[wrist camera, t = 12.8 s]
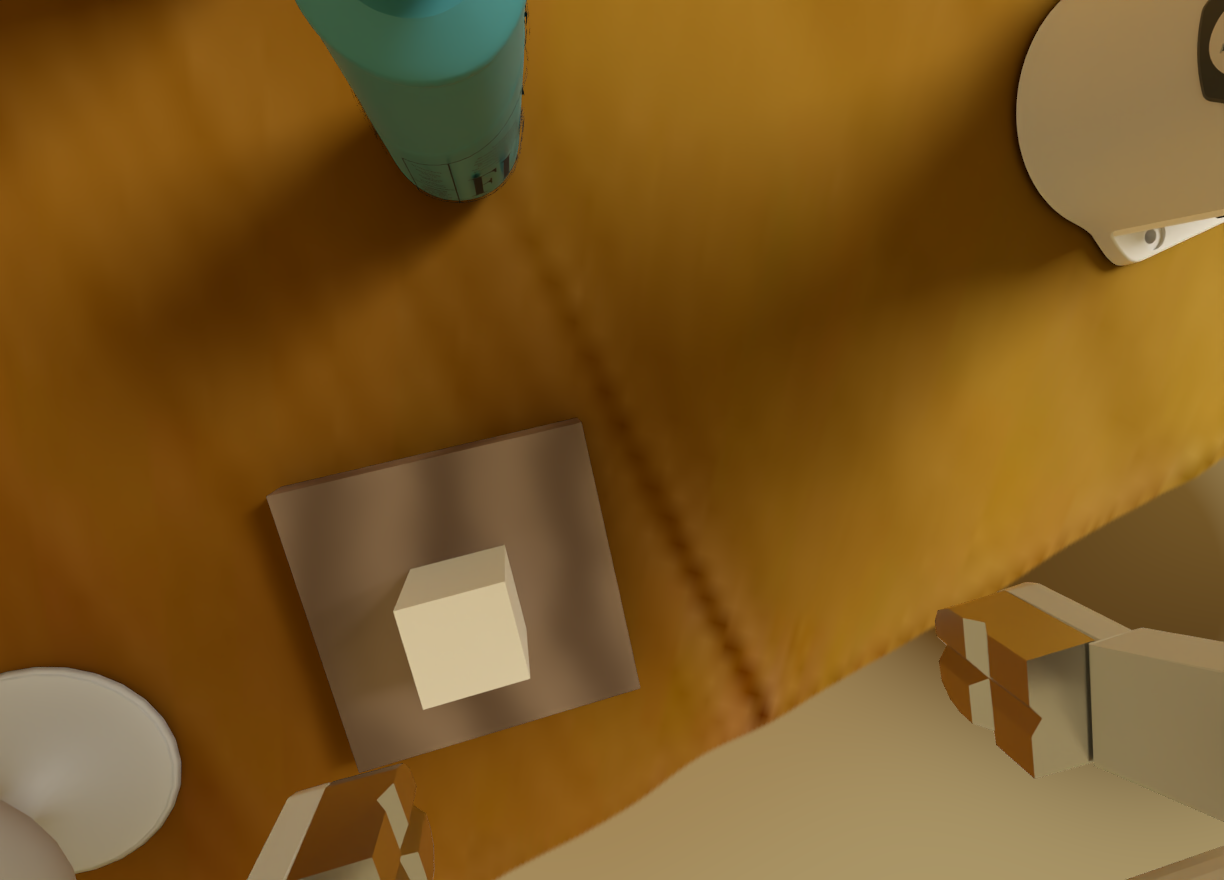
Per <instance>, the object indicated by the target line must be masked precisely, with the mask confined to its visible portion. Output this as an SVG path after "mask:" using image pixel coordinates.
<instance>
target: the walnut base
mask: <svg viewBox="0 0 1224 880" xmlns="http://www.w3.org/2000/svg"><path fill="white" fill-rule="evenodd" d="M266 498H267V501H268V504H269V507H270V509H271V512H272V515H273V518H274V521H275V524H276V527H277V530H278V533H279V536H280V539H281V542H282V545H283V548H284V551H285V554H286V557H287V560H288V563H289V566H290V569H291V572H292V575H293V578H294V581H295V584H296V587H297V590H298V593H299V596H300V598H301V601H302V604H303V607H304V610H305V613H306V616H307V619H308V622H309V625H310V628H311V631H312V634H313V637H314V640H315V643H316V646H317V649H318V652H319V655H320V658H321V661H322V664H323V667H324V670H325V673H326V676H327V679H328V682H329V685H330V687H331V690H332V693H333V696H334V699H335V702H336V705H337V708H338V711H339V714H340V717H341V720H342V723H343V726H344V729H345V732H346V735H347V738H348V741H349V744H350V747H351V750H352V753H353V756H354V759H355V762H356V765H357V768H358V771H359V773H361V772H364V771H368V770H371V769H374V768H377V767H381V766H384V765H387V764H391V763H394V762H397V761H401V760H404V759H407V758H411V757H414V756H417V755H421V754H424V753H427V752H431V751H434V750H437V749H441V748H444V747H447V746H450V745H454V744H457V743H460V742H464V741H467V740H470V739H474V738H477V737H480V736H484V735H487V734H490V733H494V732H497V731H500V730H504V729H507V728H510V727H514V726H517V725H520V724H523V723H527V722H530V721H533V720H537V719H540V718H543V717H547V716H550V715H553V714H557V713H560V712H563V711H567V710H570V709H573V708H577V707H580V706H583V705H587V704H590V703H593V702H596V701H600V700H603V699H606V698H610V697H613V696H616V695H620V694H623V693H626V692H630V691H633V690H636V689H640V684H639V679H638V675H637V670H636V666H635V661H634V657H633V652H632V648H631V643H630V639H629V634H628V630H627V625H626V621H625V616H624V612H623V607H622V603H621V598H620V594H619V589H618V584H617V580H616V575H615V571H614V566H613V562H612V557H611V553H610V548H609V544H608V539H607V535H606V530H605V526H604V521H603V517H602V512H601V508H600V503H599V499H598V494H597V490H596V485H595V481H594V476H593V472H592V467H591V463H590V458H589V453H588V449H587V444H586V440H585V435H584V431H583V426H582V422H581V421H580V420H579V419H578V418H573V419H569V420H565V421H560V422H556V423H552V424H548V425H543V426H539V427H535V428H530V429H526V430H522V431H518V432H513V433H509V434H505V435H501V436H496V437H492V438H488V439H483V440H479V441H475V442H471V443H466V444H462V445H458V446H453V447H449V448H445V449H441V450H436V451H432V452H428V453H424V454H419V455H415V456H411V457H406V458H402V459H398V460H394V461H389V462H385V463H381V464H377V465H372V466H368V467H364V468H359V469H355V470H351V471H347V472H342V473H338V474H334V475H330V476H325V477H321V478H317V479H312V480H308V481H304V482H300V483H295V484H291V485H287V486H283V487H280V488H278V489H277V490H275V491H274V492H272V493H271V494H269V495H268V496H266ZM502 545H505V548H506V552H507V556H508V560H509V564H510V567H511V571H512V575H513V579H514V583H515V587H516V591H517V595H518V598H519V602H520V606H521V610H522V614H523V618H524V622H525V626H526V630H527V643H528V656H529V668H530V679H528V680H524V681H521V682H517V683H514V684H510V685H507V686H504V687H500V688H497V689H493V690H490V691H486V692H483V693H480V694H476V695H473V696H469V697H466V698H462V699H459V700H456V701H452V702H449V703H445V704H442V705H438V706H435V707H432V708H428V709H425V710H423V708H422V704H421V701H420V698H419V695H418V691H417V688H416V685H415V681H414V678H413V675H412V672H411V668H410V665H409V662H408V659H407V655H406V652H405V649H404V645H403V642H402V639H401V636H400V632H399V629H398V626H397V622H396V619H395V616H394V613H393V610H394V608H395V606H396V603H397V601H398V598H399V596H400V593H401V591H402V588H403V586H404V583H405V581H406V578H407V576H408V574H409V571H410V569H414V568H417V567H421V566H425V565H429V564H433V563H437V562H441V561H444V560H448V559H452V558H456V557H460V556H464V555H468V554H471V553H475V552H479V551H483V550H487V549H491V548H495V547H498V546H502Z"/></svg>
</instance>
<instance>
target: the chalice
mask: <svg viewBox="0 0 1224 880" xmlns="http://www.w3.org/2000/svg"><path fill="white" fill-rule="evenodd" d="M180 786H181V758H180V754H179V750H178V746H177V742H176V739H175V737H174V735H173V734H172V732H171V730H170V728H169V727H168V725H167V723H166V721H165V720H164V718H163V717H162V716H161V715H160V714H159V713H158V712H157V711H156V710H155V709H154V708H153V707H152V705H151V704H150V703H149V702H148V701H147V700H146V699H144V698H143V697H141V696H140V695H138V694H137V693H135V692H134V691H132V690H131V689H129V688H128V687H126V686H125V685H123V684H121V683H118V682H116V681H114V680H111V679H109V678H106V677H104V676H101V675H99V674H96V673H92V672H87V671H82V670H77V669H72V668H67V667H32V668H26V669H20V670H14V671H8V672H4V673H1V674H0V880H76V877H75V874H77V873H82V872H86V871H91V870H95V869H98V868H101V867H103V866H106V865H108V864H111V863H113V862H115V861H118V860H120V859H122V858H124V857H126V856H127V855H129V854H130V853H132V852H133V851H135V850H136V849H138V848H139V847H141V846H142V845H144V844H145V843H146V842H147V841H148V840H149V839H150V838H151V837H152V836H153V835H154V834H155V833H156V832H157V831H158V830H159V829H160V828H161V827H162V825H163V824H164V822H165V820H166V819H167V817H168V816H169V814H170V812H171V811H172V809H173V807H174V805H175V802H176V799H177V795H178V792H179V789H180Z"/></svg>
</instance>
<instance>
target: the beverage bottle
mask: <svg viewBox="0 0 1224 880" xmlns="http://www.w3.org/2000/svg"><path fill="white" fill-rule="evenodd" d="M295 1H296V3H297V5H298V7H299V8H300V10H301V12H302V13H303V15H304V16H305V18H306V19H307V21H308V22H309V24H310V25H311V26H312V28H313V29H314V30H315V31H316V33H317V34H318V35H319V36H320V37H321V39H322V41H323V42H324V44H325V45H326V47H327V49H328V50H329V52H330V54H331V55H332V57H333V58H334V60H335V62H336V63H337V65H338V66H339V68H340V70H341V71H342V73H343V75H344V76H345V78H346V79H347V81H348V83H349V85H350V86H351V87H350V88H352V89H353V91H354V94H355V95H356V96H357V97H358V100H359V101H360V102H359V103H360V104H362V106H363V107H362V108H363V109H364V110H365V112H366V114H367V115H368V116H367V117H369V119H370V121H371V122H372V125H373V126H374V127H375V129H376V132H378V134H379V136H380V137H381V139H382V142H384V144H385V146H386V148H387V149H388V151H389V153H390V154H391V156H392V158H393V159H394V161H395V163H396V164H397V166H398V167H399V168H400V170H401V171H402V172H403V174H404V175H405V176H406V177H407V178H408V179H409V180H410V181H411V182H412V183H413V184H415V185H416V186H417V188H418V187H419V188H420V189H422V190H424V192H426V193H429V195H430V194H431V196H432V195H433V196H434V197H435V196H436V198H438V197H440V199H441V198H443V199H444V200H446V199H447V200H459V202H452V203H464V202H460V200H470V199H474V198H475V199H477V198H478V197H481V196H485V195H487V193H489V192H491V191H493V190H494V189H495V188H497V187H498V186H499V185H500V184H501V183H504V182H505V178H506V177H507V176H508V174H509V173H510V171H511V170H512V168H513V166H514V164H515V163H514V162H516V161H515V160H517V158H519V157H516V156H517V155H518V154H517V152H518V145H519V132H520V127H521V126H520V114H522V111H523V109H522V111H521V97H522V94H524V91H523V87H524V86H523V85H522V80H523V63H524V45H525V44H526V41H525V44H524V40H525V27H524V24H525V20H524V17H525V16H526V24H525V25H527V13H526V12H525V10H526V5H525V4H526V0H295ZM527 8H528V6H527ZM528 15H529V13H528ZM526 33H527V29H526ZM529 33H530V29H529ZM529 40H530V39H529ZM525 49H526V47H525ZM526 52H527V51H526ZM527 59H528V58H527ZM526 69H527V68H526ZM527 72H528V71H527ZM525 74H526V73H525ZM524 78H525V77H524ZM526 78H527V77H526ZM525 81H526V80H525ZM523 83H524V82H523ZM524 84H525V83H524ZM522 86H523V87H522ZM351 91H352V90H351ZM356 96H355V97H356ZM357 97H356V98H357ZM354 99H355V98H354ZM358 100H357V101H358ZM359 103H358V104H359ZM363 109H362V110H363ZM360 112H361V111H360ZM363 114H364V112H363ZM523 114H524V113H523ZM365 116H366V115H365ZM521 117H522V115H521ZM522 118H523V117H522ZM522 118H521V120H523V119H522ZM364 119H365V118H364ZM522 122H523V125H522V126H524V120H523V121H522ZM521 124H522V123H521ZM369 127H370V126H369ZM374 127H372V128H374ZM522 131H523V128H522ZM374 133H375V132H374ZM375 134H377V133H375ZM375 134H374V135H375ZM376 138H377V137H376ZM377 139H378V138H377ZM521 139H522V136H521ZM522 140H523V139H522ZM522 140H521V141H522ZM520 146H521V143H520ZM382 147H383V146H382ZM521 147H522V146H521ZM520 149H521V148H520ZM519 152H520V150H519ZM517 161H518V160H517ZM514 168H516V167H515V166H514ZM514 170H515V169H514ZM512 171H513V170H512ZM511 173H512V172H511ZM511 173H510V174H511ZM508 177H509V176H508ZM508 177H507V178H508ZM509 178H510V177H509ZM506 182H507V181H506ZM506 182H505V183H506ZM505 183H504V184H505ZM504 184H503V185H504ZM503 185H502V186H503ZM502 186H501V187H502ZM501 187H500V188H501ZM419 188H418V190H419ZM419 191H420V190H419ZM496 191H497V190H496ZM420 192H421V191H420ZM492 194H493V193H492ZM425 195H426V194H425ZM490 195H491V194H490ZM427 196H428V195H427ZM488 196H489V195H488ZM486 197H487V196H486ZM432 198H433V197H432ZM484 198H485V197H484ZM434 199H435V198H434ZM481 199H482V198H481ZM438 200H439V199H438ZM479 200H480V199H479ZM441 201H442V200H441ZM475 201H476V200H475ZM446 202H448V201H446ZM470 202H472V201H470Z"/></svg>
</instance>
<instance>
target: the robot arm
mask: <svg viewBox="0 0 1224 880" xmlns="http://www.w3.org/2000/svg"><path fill="white" fill-rule="evenodd" d="M1016 120H1017V133H1018V139H1019V145H1020V149H1021V153H1022V157H1023V160H1024V163H1025V166H1026V169H1027V171H1028V173H1029V175H1030V178H1031V179H1032V181H1033V183H1034V185H1035V187H1036V188H1037V190H1038V191H1039V193H1040V194H1041V196H1042V197H1043V198H1044V199H1045V201H1046V202H1047V203H1048V204H1049V205H1050V206H1051V207H1052V208H1053V209H1054V210H1055V211H1056V212H1058V213H1059V214H1060V215H1061V216H1063V217H1064V218H1066V219H1067V220H1069V221H1071V222H1073V223H1075V224H1076V225H1078V226H1080V227H1082V228H1083V229H1085V230H1086V231H1087V232H1089V233H1090V234H1091V235H1092V236H1093V238H1094V240H1095V241H1096V243H1097V244H1098V246H1099V247H1100V249H1101V250H1102V252H1103V253H1104V254H1105V256H1106V257H1107V258H1108V259H1109V260H1110V261H1111V262H1112V263H1114V264H1115V265H1119V266H1122V265H1128V264H1132V263H1136V262H1140V261H1142V260H1145V259H1147V258H1149V257H1151V256H1153V255H1155V254H1157V253H1160V252H1162V251H1164V250H1166V249H1168V248H1170V247H1172V246H1174V245H1177V244H1179V243H1181V242H1183V241H1185V240H1187V239H1189V238H1191V237H1194V236H1196V235H1198V234H1200V233H1202V232H1204V231H1206V230H1209V229H1211V228H1213V227H1215V226H1217V225H1219V224H1221V223H1223V222H1224V0H1061V1H1060V2H1059V3H1058V4H1057V5H1056V6H1055V7H1054V8H1053V10H1052V11H1051V12H1050V13H1049V15H1048V16H1047V17H1046V19H1045V20H1044V22H1043V23H1042V25H1041V26H1040V28H1039V30H1038V31H1037V33H1036V35H1035V37H1034V39H1033V41H1032V43H1031V45H1030V48H1029V50H1028V53H1027V55H1026V58H1025V61H1024V64H1023V68H1022V72H1021V76H1020V81H1019V86H1018V94H1017V105H1016ZM935 627H936V636H938V637H939V638H940V639H941V640H942V641H943V642H944V643H945V644H946V645H947V646H946V648H945V650H944V652H943V654H942V656H941V658H940V660H939V665H940V671H941V679H942V682H943V684H944V687H945V689H946V690H947V693H948V695H949V697H950V699H951V701H952V702H953V703H954V705H955V706H956V707H957V709H958V710H959V712H960V713H961V714H963V715H964V716H965V717H966V718H967V719H968V720H969V721H970V722H971V723H972V724H975V725H978V726H981V727H984V728H986V729H989V730H992V731H994V734H995V740H996V745H997V746H998V747H999V748H1000V749H1001V750H1002V751H1004V752H1005V753H1006V754H1007V755H1008V756H1009V757H1010V758H1012V759H1013V760H1014V761H1015V762H1016V763H1017V764H1018V765H1019V766H1021V767H1022V768H1023V769H1024V770H1025V771H1026V772H1028V774H1030V775H1031V776H1032V777H1033V778H1034V779H1037V778H1040V777H1044V776H1047V775H1051V774H1054V773H1058V772H1061V771H1065V770H1068V769H1072V768H1075V767H1079V766H1082V765H1086V764H1089V763H1093V762H1094V766H1096V767H1098V768H1100V769H1103V770H1105V771H1107V772H1110V773H1112V774H1114V775H1117V776H1119V777H1121V778H1123V779H1126V780H1128V781H1130V782H1133V783H1135V784H1138V785H1140V786H1142V787H1144V788H1147V789H1149V790H1151V791H1154V792H1156V793H1158V794H1160V795H1163V796H1165V797H1168V798H1170V799H1172V800H1175V801H1177V802H1179V803H1181V804H1184V805H1186V806H1188V807H1191V808H1193V809H1195V810H1198V811H1200V812H1202V813H1205V814H1207V815H1209V816H1211V817H1214V818H1216V819H1219V820H1221V821H1223V822H1224V642H1221V641H1215V640H1209V639H1203V638H1198V637H1192V636H1187V635H1181V634H1175V633H1169V632H1164V631H1158V630H1153V629H1147V628H1139V629H1136V630H1130V629H1128V628H1126V627H1124V626H1122V625H1120V624H1118V623H1116V622H1115V621H1113V620H1111V619H1108V618H1106V617H1105V616H1103V615H1101V614H1099V613H1097V612H1095V611H1093V610H1090V609H1089V608H1086V607H1084V606H1082V605H1081V604H1079V603H1077V602H1075V601H1073V600H1070V599H1069V598H1067V597H1065V596H1063V595H1061V594H1059V593H1057V592H1055V591H1053V590H1051V589H1049V588H1047V587H1045V586H1043V585H1041V584H1039V583H1031V582H1026V583H1022V584H1019V585H1016V586H1013V587H1010V588H1007V589H1004V590H1001V591H998V592H997V593H994V594H991V595H988V596H984V597H981V598H978V599H974V600H971V601H968V602H964V603H961V604H958V605H954V606H951V607H947V608H944V609H941V610H938V611H937V615H936V619H935ZM416 787H417V786H416V784H415V781H414V779H413V776H412V773H411V771H410V768H409V767H408V766H407V765H405V764H403V763H401V764H397V765H393V766H390V767H386V768H382V769H378V770H374V771H371V772H367V773H363V774H359V775H355V776H352V777H348V778H344V779H340V780H336V781H333V782H332V783H325V784H322V785H318V786H315V787H312V788H308V789H305V790H301V791H298V792H296V793H294V794H293V795H292V796H290V797H289V798H288V799H287V801H286V803H285V805H284V807H283V809H282V811H281V813H280V815H279V817H278V819H277V821H276V823H275V825H274V827H273V829H272V831H271V833H270V835H269V837H268V839H267V841H266V843H265V845H264V847H263V849H262V851H261V853H260V855H259V857H258V859H257V861H256V863H255V865H254V867H253V869H252V871H251V873H250V875H249V877H248V879H247V880H433V875H434V845H433V839H432V834H431V829H430V825H429V822H428V819H427V816H426V813H425V812H423V811H422V810H420V809H419V808H417V807H415V806H414V805H413V801H414V796H415V792H416ZM1126 880H1224V846H1221V847H1219V848H1216V849H1213V850H1210V851H1207V852H1204V853H1201V854H1198V855H1196V856H1193V857H1190V858H1187V859H1184V860H1181V861H1178V862H1175V863H1173V864H1169V865H1166V866H1164V867H1161V868H1158V869H1155V870H1152V871H1149V872H1147V873H1144V874H1140V875H1138V876H1135V877H1132V878H1129V879H1126Z"/></svg>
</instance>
